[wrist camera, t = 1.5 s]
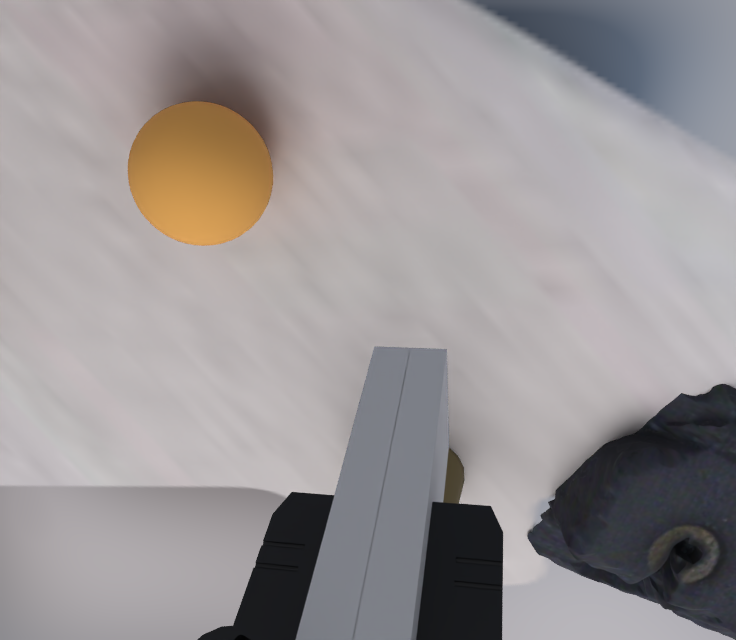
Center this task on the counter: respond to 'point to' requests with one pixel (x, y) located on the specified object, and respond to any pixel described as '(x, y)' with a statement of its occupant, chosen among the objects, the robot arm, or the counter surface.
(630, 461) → the dark slate chunk
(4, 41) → the counter surface
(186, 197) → the ball
